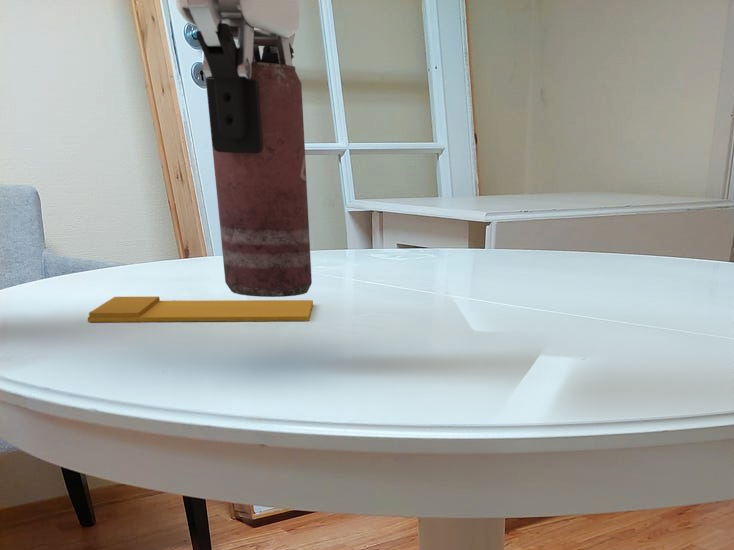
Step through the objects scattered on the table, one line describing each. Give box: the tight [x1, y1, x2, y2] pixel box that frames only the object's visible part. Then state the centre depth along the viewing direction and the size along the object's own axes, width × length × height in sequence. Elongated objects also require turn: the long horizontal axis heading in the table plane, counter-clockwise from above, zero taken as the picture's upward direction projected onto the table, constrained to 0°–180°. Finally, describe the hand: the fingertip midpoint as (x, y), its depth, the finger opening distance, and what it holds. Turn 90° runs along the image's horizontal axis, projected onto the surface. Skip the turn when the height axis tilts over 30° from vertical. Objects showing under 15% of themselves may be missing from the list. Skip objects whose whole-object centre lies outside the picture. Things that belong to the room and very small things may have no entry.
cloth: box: [87, 296, 314, 323], centre depth 87 cm, size 20×10×1 cm, turn 97°
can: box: [205, 62, 313, 298], centre depth 61 cm, size 6×6×14 cm
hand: (257, 149), depth 60 cm, fingers closed on can, 6 cm apart
